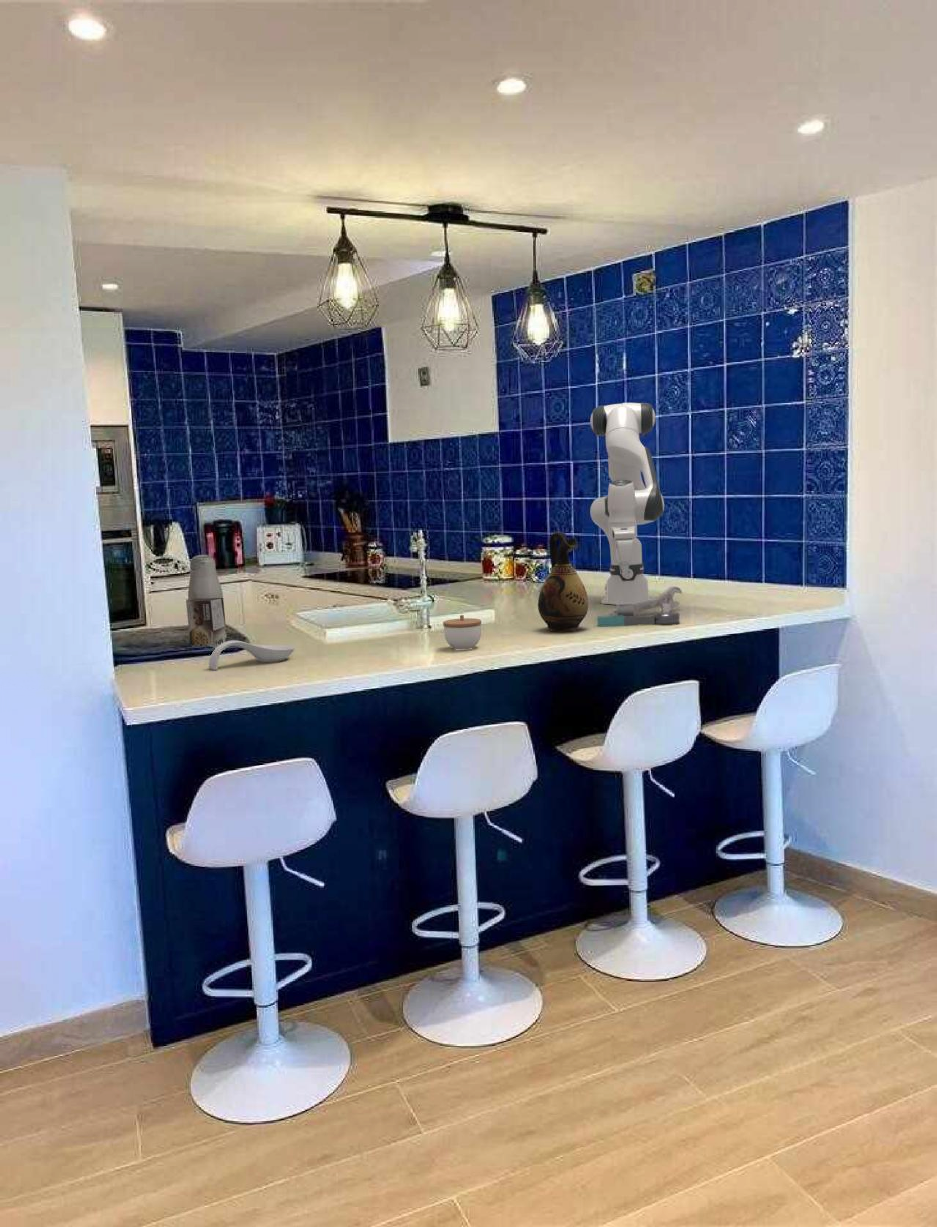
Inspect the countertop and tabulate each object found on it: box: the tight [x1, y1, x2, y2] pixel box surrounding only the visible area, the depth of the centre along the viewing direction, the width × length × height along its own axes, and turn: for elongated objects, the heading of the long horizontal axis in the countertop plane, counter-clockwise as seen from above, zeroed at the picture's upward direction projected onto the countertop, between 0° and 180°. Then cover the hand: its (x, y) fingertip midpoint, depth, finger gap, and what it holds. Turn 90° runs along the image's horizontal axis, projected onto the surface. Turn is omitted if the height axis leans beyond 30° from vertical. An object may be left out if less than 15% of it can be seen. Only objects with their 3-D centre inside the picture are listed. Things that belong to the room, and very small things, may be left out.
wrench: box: [607, 586, 683, 616], centre depth 318 cm, size 8×2×30 cm
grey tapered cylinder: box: [187, 554, 224, 601], centre depth 300 cm, size 10×10×28 cm
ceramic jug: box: [537, 530, 589, 633], centre depth 293 cm, size 17×15×30 cm
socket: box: [615, 604, 635, 616], centre depth 306 cm, size 5×5×5 cm
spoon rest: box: [208, 640, 295, 671], centre depth 262 cm, size 24×12×7 cm, turn 127°
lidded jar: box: [442, 614, 482, 650], centre depth 270 cm, size 11×11×9 cm
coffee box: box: [185, 597, 228, 648], centre depth 283 cm, size 9×6×16 cm
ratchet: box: [596, 604, 680, 627], centre depth 297 cm, size 8×25×6 cm, turn 85°
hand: (624, 575), depth 304 cm, fingers open, 8 cm apart
